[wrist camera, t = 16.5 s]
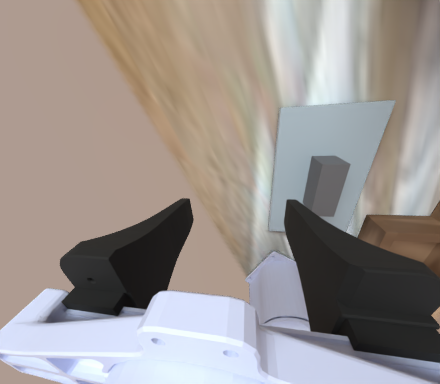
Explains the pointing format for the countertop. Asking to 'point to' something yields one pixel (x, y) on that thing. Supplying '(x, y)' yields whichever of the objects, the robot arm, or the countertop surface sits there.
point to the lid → (325, 158)
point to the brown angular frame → (406, 236)
